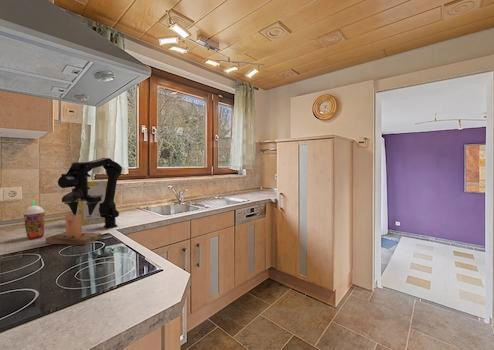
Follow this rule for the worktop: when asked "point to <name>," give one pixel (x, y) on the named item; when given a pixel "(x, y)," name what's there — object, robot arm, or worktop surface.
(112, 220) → the robot arm
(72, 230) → the clip
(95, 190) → the pasta box
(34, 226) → the smoothie
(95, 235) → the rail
